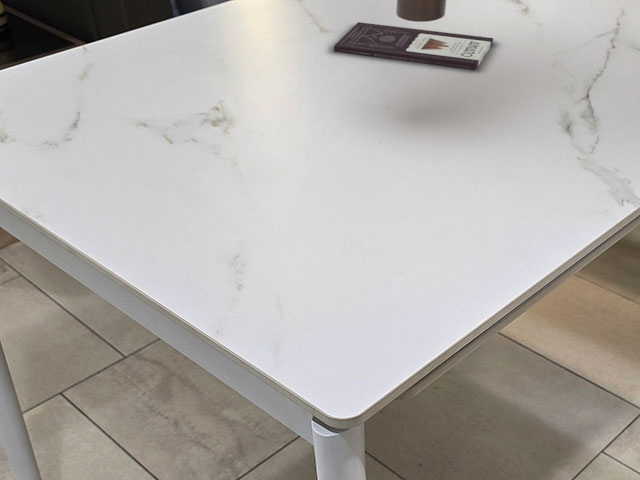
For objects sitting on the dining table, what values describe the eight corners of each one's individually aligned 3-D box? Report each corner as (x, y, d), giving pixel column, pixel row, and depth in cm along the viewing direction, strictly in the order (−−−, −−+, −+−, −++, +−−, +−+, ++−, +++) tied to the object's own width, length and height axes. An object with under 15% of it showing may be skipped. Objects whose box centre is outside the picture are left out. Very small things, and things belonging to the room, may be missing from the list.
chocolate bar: (358, 22, 114) (493, 38, 108) (358, 29, 115) (492, 45, 108) (334, 45, 108) (476, 64, 101) (334, 53, 109) (475, 71, 102)
